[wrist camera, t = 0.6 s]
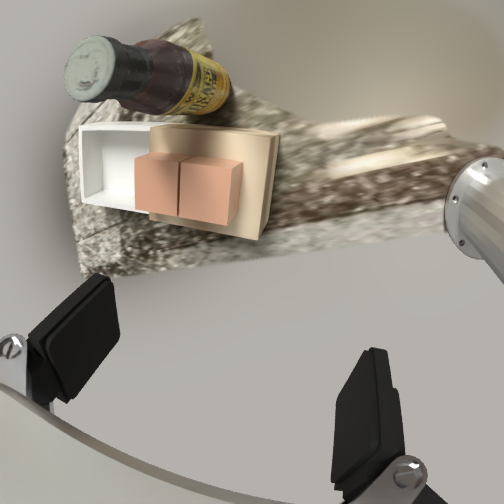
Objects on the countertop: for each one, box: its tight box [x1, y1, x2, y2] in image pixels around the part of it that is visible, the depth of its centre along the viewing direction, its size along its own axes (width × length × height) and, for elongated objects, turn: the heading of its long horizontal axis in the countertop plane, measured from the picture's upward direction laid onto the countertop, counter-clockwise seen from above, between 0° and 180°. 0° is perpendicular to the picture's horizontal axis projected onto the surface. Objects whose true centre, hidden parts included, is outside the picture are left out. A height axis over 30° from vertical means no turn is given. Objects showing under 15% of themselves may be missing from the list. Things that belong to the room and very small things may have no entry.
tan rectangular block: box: [149, 123, 280, 241], centre depth 32 cm, size 12×10×6 cm
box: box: [79, 122, 172, 214], centre depth 34 cm, size 12×10×4 cm
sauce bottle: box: [64, 36, 231, 115], centre depth 21 cm, size 7×6×20 cm
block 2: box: [179, 156, 243, 226], centre depth 27 cm, size 4×5×4 cm
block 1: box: [134, 152, 194, 217], centre depth 28 cm, size 4×5×4 cm
